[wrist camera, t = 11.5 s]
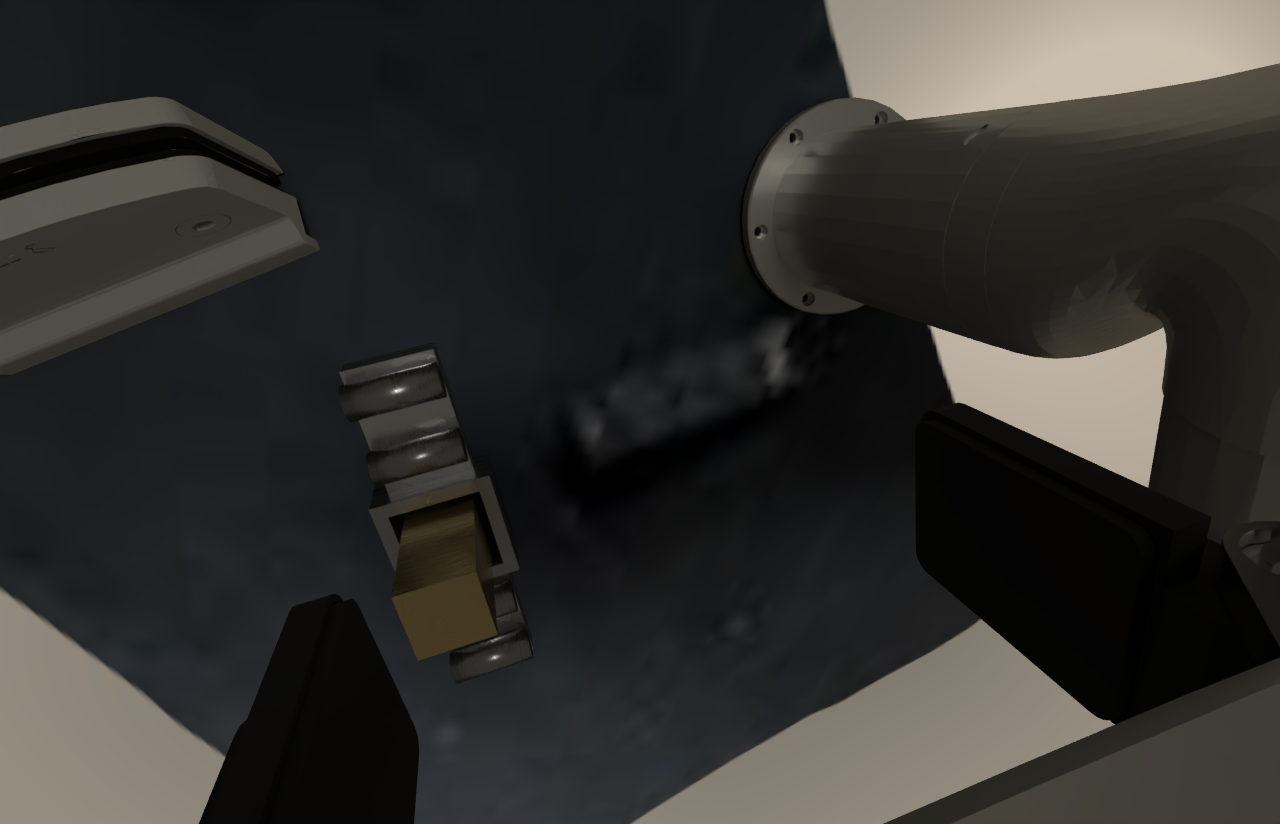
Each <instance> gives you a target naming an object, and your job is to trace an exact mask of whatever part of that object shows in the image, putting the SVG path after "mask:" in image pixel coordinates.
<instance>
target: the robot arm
mask: <svg viewBox="0 0 1280 824" xmlns="http://www.w3.org/2000/svg"><path fill="white" fill-rule="evenodd" d="M790 134H791V135H792V141H791V142H790V139H789V137H790ZM756 227H757V228H758V233H757V234H756V235H754V231H755V229H756ZM742 229H743V240H744V244H745V248H746V252H747V256H748V259H749V261H750V263H751V265H752V267H753V270H754V272H755V274H756V275H757V277H758V278H759V279H760V281H761V282H762V283H763V285H764V286H765V288H766V289H767V290H769V291H770V292H771V293H772V294H773V295H774V296H775V297H777V298H778V299H779V300H781V301H783V302H785V303H786V304H788V305H790V306H792V307H794V308H797V309H799V310H802V311H805V312H809V313H816V314H822V315H826V314H840V313H844V312H848V311H851V310H855V309H857V308H860V307H862V306H864V305H868V306H871V307H874V308H878V309H881V310H884V311H887V312H890V313H893V314H896V315H899V316H902V317H905V318H908V319H912V320H915V321H918V322H921V323H924V324H927V325H930V326H933V327H936V328H939V329H942V330H946V331H949V332H952V333H955V334H958V335H961V336H964V337H967V338H971V339H973V340H976V341H980V342H983V343H986V344H989V345H992V346H996V347H999V348H1003V349H1006V350H1009V351H1012V352H1016V353H1020V354H1024V355H1029V356H1033V357H1043V358H1071V357H1081V356H1087V355H1091V354H1095V353H1099V352H1103V351H1106V350H1109V349H1112V348H1116V347H1119V346H1122V345H1124V344H1127V343H1129V342H1132V341H1134V340H1136V339H1139V338H1141V337H1144V336H1146V335H1148V334H1151V333H1153V332H1155V331H1157V330H1159V329H1161V328H1163V327H1164V330H1165V333H1166V343H1167V351H1166V360H1165V369H1164V377H1163V384H1162V390H1163V394H1164V398H1163V405H1162V410H1161V417H1160V422H1159V429H1158V434H1157V440H1156V446H1155V452H1154V458H1153V463H1152V469H1151V475H1150V481H1149V487H1148V488H1147V487H1145V486H1143V485H1141V484H1138V483H1136V482H1134V481H1132V480H1130V479H1127V478H1125V477H1123V476H1121V475H1119V474H1116V473H1114V472H1112V471H1110V470H1108V469H1106V468H1103V467H1101V466H1099V465H1097V464H1095V463H1092V462H1090V461H1088V460H1086V459H1084V458H1082V457H1079V456H1077V455H1075V454H1073V453H1071V452H1068V451H1066V450H1064V449H1062V448H1060V447H1057V446H1055V445H1053V444H1051V443H1049V442H1047V441H1044V440H1042V439H1040V438H1037V437H1036V436H1033V435H1031V434H1029V433H1027V432H1025V431H1022V430H1020V429H1018V428H1016V427H1014V426H1012V425H1009V424H1007V423H1005V422H1003V421H1001V420H998V419H996V418H994V417H992V416H990V415H987V414H985V413H983V412H981V411H979V410H977V409H974V408H972V407H970V406H968V405H966V404H962V403H955V404H951V405H948V406H945V407H942V408H938V409H935V410H932V411H928V412H927V413H925V414H924V416H923V418H922V420H921V423H919V424H918V425H917V427H916V431H915V474H916V554H917V557H918V560H919V562H920V564H921V566H922V567H923V569H924V570H925V571H926V572H927V573H928V574H929V575H931V576H932V577H933V578H934V579H935V580H936V581H938V582H939V583H940V584H941V585H942V586H943V587H945V588H946V589H947V590H948V591H949V592H950V593H952V594H953V595H954V596H955V597H956V598H957V599H959V600H960V601H961V602H962V603H963V604H964V605H966V606H967V607H968V608H969V609H970V610H971V611H973V612H974V613H975V614H976V615H977V616H978V617H980V618H981V619H982V620H983V621H984V622H985V623H987V624H988V625H989V626H990V627H991V628H993V629H994V630H995V631H996V632H997V633H998V634H1000V635H1001V636H1002V637H1003V638H1004V639H1005V640H1007V641H1008V642H1009V643H1010V644H1011V645H1012V646H1014V647H1015V648H1016V649H1017V650H1018V651H1019V652H1021V653H1022V654H1023V655H1024V656H1025V657H1026V658H1028V659H1029V660H1030V661H1031V662H1032V663H1033V664H1035V665H1036V666H1037V667H1038V668H1039V669H1041V670H1042V671H1043V672H1044V673H1045V674H1046V675H1047V676H1049V677H1050V678H1051V679H1052V680H1053V681H1055V682H1056V683H1057V684H1058V685H1059V686H1060V687H1061V688H1063V689H1064V690H1065V691H1066V692H1067V693H1068V694H1070V695H1071V696H1072V697H1073V698H1074V699H1076V700H1077V701H1078V702H1079V703H1080V704H1081V705H1082V706H1084V707H1085V708H1086V709H1087V710H1088V711H1090V712H1091V713H1092V714H1094V715H1095V716H1096V717H1098V718H1100V719H1103V720H1110V721H1111V722H1112V723H1114V724H1115V725H1113V726H1111V727H1109V728H1106V729H1104V730H1102V731H1099V732H1097V733H1095V734H1092V735H1090V736H1087V737H1085V738H1083V739H1080V740H1078V741H1076V742H1073V743H1071V744H1069V745H1066V746H1064V747H1062V748H1059V749H1057V750H1054V751H1052V752H1050V753H1047V754H1045V755H1043V756H1040V757H1038V758H1036V759H1033V760H1031V761H1028V762H1026V763H1024V764H1021V765H1019V766H1017V767H1014V768H1012V769H1010V770H1007V771H1005V772H1003V773H1000V774H998V775H996V776H993V777H991V778H989V779H986V780H984V781H982V782H980V783H977V784H975V785H973V786H970V787H968V788H965V789H963V790H961V791H958V792H956V793H954V794H951V795H949V796H947V797H945V798H942V799H940V800H938V801H935V802H933V803H931V804H928V805H926V806H924V807H921V808H919V809H917V810H914V811H912V812H910V813H907V814H905V815H903V816H900V817H898V818H896V819H893V820H891V821H889V822H887V823H884V824H1280V64H1275V65H1271V66H1266V67H1262V68H1257V69H1253V70H1249V71H1244V72H1239V73H1235V74H1231V75H1226V76H1222V77H1217V78H1213V79H1208V80H1202V81H1196V82H1190V83H1184V84H1178V85H1172V86H1167V87H1161V88H1154V89H1148V90H1141V91H1136V92H1129V93H1122V94H1116V95H1108V96H1100V97H1092V98H1084V99H1075V100H1068V101H1061V102H1055V103H1047V104H1038V105H1030V106H1023V107H1014V108H1006V109H997V110H989V111H980V112H972V113H964V114H955V115H947V116H939V117H931V118H922V119H914V120H905V119H904V118H903V117H902V116H900V115H899V114H898V113H896V112H895V111H894V110H893V109H891V108H890V107H887V106H885V105H883V104H880V103H878V102H876V101H873V100H866V99H861V98H846V99H836V100H832V101H827V102H823V103H819V104H817V105H815V106H813V107H810V108H808V109H806V110H804V111H802V112H800V113H799V114H798V115H796V116H795V117H793V118H792V119H790V120H789V121H788V122H786V123H785V124H784V125H783V126H782V127H781V128H780V129H779V130H778V131H777V132H776V133H775V134H774V136H773V137H772V138H771V139H770V140H769V142H768V143H767V145H766V146H765V148H764V149H763V151H762V152H761V154H760V155H759V157H758V159H757V161H756V163H755V165H754V168H753V170H752V172H751V174H750V176H749V180H748V184H747V188H746V191H745V195H744V201H743V211H742ZM804 295H805V297H804V299H803V296H804ZM802 299H803V300H802ZM418 761H419V742H418V736H417V732H416V729H415V726H414V724H413V722H412V720H411V718H410V715H409V713H408V711H407V709H406V707H405V705H404V703H403V700H402V698H401V696H400V694H399V692H398V690H397V688H396V685H395V683H394V681H393V679H392V677H391V675H390V673H389V670H388V668H387V666H386V664H385V662H384V660H383V657H382V655H381V653H380V651H379V649H378V647H377V645H376V642H375V640H374V638H373V636H372V634H371V632H370V630H369V627H368V625H367V623H366V621H365V619H364V617H363V615H362V612H361V610H360V608H359V606H358V604H357V603H356V602H355V601H354V600H353V599H349V600H346V601H343V600H342V599H341V598H340V597H339V596H338V595H337V594H332V595H329V596H325V597H322V598H319V599H316V600H312V601H309V602H306V603H303V604H299V605H296V606H294V607H292V609H291V610H290V612H289V614H288V617H287V619H286V622H285V624H284V627H283V629H282V632H281V634H280V637H279V640H278V642H277V645H276V647H275V650H274V652H273V655H272V657H271V660H270V662H269V665H268V668H267V670H266V673H265V675H264V678H263V680H262V683H261V685H260V688H259V690H258V693H257V696H256V698H255V701H254V703H253V706H252V708H251V711H250V713H249V716H248V718H247V720H246V721H245V722H244V723H243V724H241V725H240V727H239V729H238V730H237V732H236V734H235V736H234V738H233V740H232V743H231V745H230V748H229V750H228V753H227V755H226V758H225V760H224V763H223V765H222V768H221V770H220V773H219V775H218V778H217V780H216V782H215V785H214V787H213V790H212V792H211V795H210V797H209V800H208V802H207V805H206V807H205V810H204V812H203V815H202V817H201V820H200V822H199V824H414V816H415V802H416V789H417V775H418Z"/></svg>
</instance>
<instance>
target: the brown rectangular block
mask: <svg viewBox="0 0 1280 824" xmlns="http://www.w3.org/2000/svg"><path fill="white" fill-rule="evenodd" d="M391 598H392V601H393V603H394V605H395V608H396V610H397V612H398V615H399V617H400V619H401V622H402V624H403V627H404V629H405V631H406V634H407V636H408V638H409V641H410V643H411V645H412V648H413V650H414V652H415V655H416V657H417V660H418V661H419V660H422V659H425V658H428V657H431V656H434V655H437V654H440V653H443V652H447V651H450V650H453V649H456V648H459V647H462V646H465V645H468V644H471V643H474V642H477V641H480V640H483V639H487V638H490V637H493V636H496V635H498V630H497V617H496V605H495V592H494V580H493V567H492V555H491V542H490V532H489V528H488V525H487V522H486V519H485V516H484V513H483V510H482V507H481V504H480V501H479V498H478V495H477V492H475V493H471V494H468V495H465V496H461V497H458V498H454V499H451V500H447V501H444V502H440V503H437V504H434V505H430V506H427V507H423V508H420V509H416V510H413V511H410V512H406V513H405V517H404V523H403V529H402V535H401V541H400V547H399V554H398V560H397V566H396V572H395V578H394V584H393V590H392V596H391Z"/></svg>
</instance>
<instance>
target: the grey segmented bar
mask: <svg viewBox="0 0 1280 824" xmlns="http://www.w3.org/2000/svg"><path fill="white" fill-rule="evenodd" d="M339 373H340V376H341V378H342V381H343V383H344V385H342V386H340V387H339V399H340V403H341V406H342V409H343V411H344V413H345V415H346V417H347V419H348V420H349V421H350V422H354V421H358V420H359V423H360V425H361V428H362V430H363V433H364V435H365V437H366V440H367V442H368V445H369V447H370V450H371V451H369V452H367V454H366V462H367V467H368V471H369V474H370V477H371V479H372V481H373V483H374V484H375V485H376V486H375V489H374V493H373V496H372V500H371V503H370V507H369V512H370V514H371V517H372V519H373V521H374V524H375V526H376V528H377V531H378V533H379V536H380V538H381V540H382V543H383V545H384V547H385V550H386V552H387V554H388V557H389V559H390V561H391V564H392V566H393V569H394V571H395V572H396V566H397V560H398V554H399V547H400V541H401V535H402V529H403V523H404V518H403V516H402V514H403V513H406V512H410V511H413V510H416V509H420V508H423V507H427V506H430V505H434V504H437V503H440V502H444V501H447V500H451V499H454V498H458V497H461V496H465V495H468V494H471V493H475V492H478V491H479V492H480V495H481V498H482V501H483V504H484V507H485V510H486V513H487V516H488V519H489V521H490V524H491V527H492V530H493V533H494V536H495V539H494V540H490V542H491V555H492V567H493V580H494V592H495V605H496V617H497V630H498V635H496V636H493V637H490V638H487V639H483V640H480V641H477V642H474V643H471V644H468V645H465V646H462V647H459V648H456V649H453V650H452V652H451V653H450V666H451V671H452V675H453V678H454V680H455V682H456V683H457V684H459V683H462V682H465V681H467V680H470V679H473V678H476V677H479V676H482V675H485V674H488V673H491V672H494V671H497V670H500V669H503V668H505V667H508V666H511V665H514V664H517V663H520V662H523V661H526V660H529V659H532V658H533V650H532V649H533V643H532V636H531V632H530V629H529V626H528V623H527V620H526V617H525V614H524V611H523V608H522V605H521V602H520V599H519V596H518V593H517V590H516V587H515V584H514V581H513V578H512V575H511V572H513V571H516V570H520V569H519V562H518V555H517V548H516V543H515V540H514V536H513V533H512V530H511V527H510V524H509V521H508V518H507V515H506V511H505V508H504V505H503V502H502V499H501V496H500V493H499V490H498V486H497V483H496V480H495V477H494V474H493V471H492V468H491V465H490V461H489V458H488V455H487V454H486V455H483V456H479V457H476V458H473V457H472V454H471V451H470V448H469V445H468V442H467V439H466V436H465V433H464V430H463V427H462V424H461V421H460V418H459V415H458V412H457V409H456V406H455V403H454V400H453V397H452V394H451V391H450V388H449V385H448V382H447V379H446V376H445V373H444V370H443V367H442V364H441V361H440V358H439V355H438V352H437V349H436V346H435V343H430V344H425V345H421V346H417V347H413V348H409V349H405V350H401V351H397V352H393V353H389V354H385V355H381V356H377V357H373V358H369V359H365V360H361V361H356V362H352V363H348V364H344V365H343V367H342V369H341V370H340V372H339Z"/></svg>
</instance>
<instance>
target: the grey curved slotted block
mask: <svg viewBox="0 0 1280 824" xmlns="http://www.w3.org/2000/svg"><path fill="white" fill-rule="evenodd" d="M281 173H283V171H282V170H281V169H280V167H279V166H278V165H277V163H276V162H275V161H274V159H273V158H272V157H271V156H270V155H269V154H268V153H267V152H266V151H265V150H263V149H261V148H260V147H258V146H256V145H254V144H252V143H250V142H249V141H247V140H245V139H243V138H241V137H240V136H238V135H236V134H234V133H232V132H231V131H229V130H227V129H225V128H223V127H221V126H220V125H218V124H216V123H214V122H212V121H211V120H209V119H207V118H205V117H203V116H202V115H200V114H198V113H196V112H194V111H192V110H191V109H189V108H187V107H185V106H183V105H182V104H180V103H178V102H176V101H174V100H171V99H167V98H161V97H147V98H140V99H133V100H127V101H120V102H113V103H107V104H102V105H96V106H91V107H86V108H80V109H75V110H70V111H65V112H61V113H57V114H52V115H48V116H44V117H40V118H35V119H31V120H27V121H23V122H19V123H15V124H11V125H7V126H3V127H0V375H13V374H15V373H18V372H20V371H23V370H25V369H28V368H30V367H33V366H35V365H37V364H40V363H42V362H45V361H47V360H50V359H52V358H55V357H57V356H60V355H62V354H65V353H67V352H70V351H72V350H75V349H77V348H80V347H82V346H84V345H87V344H89V343H92V342H94V341H97V340H99V339H102V338H104V337H107V336H109V335H112V334H114V333H117V332H119V331H122V330H124V329H127V328H129V327H131V326H134V325H136V324H139V323H141V322H144V321H146V320H149V319H151V318H154V317H156V316H159V315H161V314H164V313H166V312H169V311H171V310H174V309H176V308H178V307H181V306H183V305H186V304H188V303H191V302H193V301H196V300H198V299H201V298H203V297H206V296H208V295H211V294H213V293H216V292H218V291H221V290H223V289H225V288H228V287H230V286H233V285H235V284H238V283H240V282H243V281H245V280H248V279H250V278H253V277H255V276H258V275H260V274H263V273H265V272H268V271H270V270H272V269H275V268H277V267H280V266H282V265H285V264H287V263H290V262H292V261H295V260H297V259H300V258H302V257H305V256H307V255H310V254H312V253H315V252H317V251H319V250H320V248H319V245H318V243H317V240H315V239H313V238H312V237H310V236H308V235H307V234H306V233H305V229H304V226H303V222H302V218H301V215H300V211H299V208H298V204H297V200H296V198H295V197H293V196H291V195H288V194H286V193H285V192H284V190H282V189H279V188H277V187H275V186H273V185H271V184H274V183H276V182H279V180H278V178H277V176H276V175H279V174H281Z"/></svg>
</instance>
